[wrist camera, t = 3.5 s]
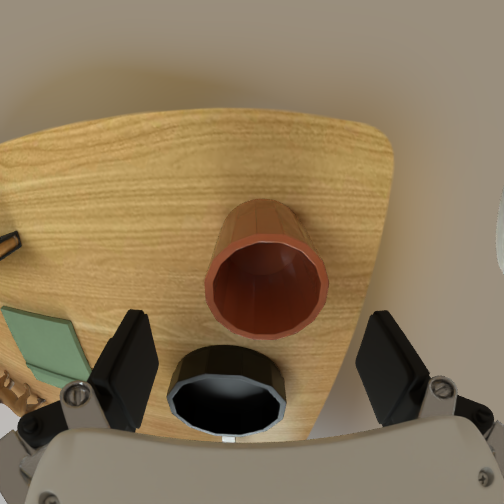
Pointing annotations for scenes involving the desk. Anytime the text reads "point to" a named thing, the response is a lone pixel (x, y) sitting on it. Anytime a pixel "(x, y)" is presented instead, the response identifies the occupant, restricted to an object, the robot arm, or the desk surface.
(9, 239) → the ammunition clip
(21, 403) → the lion figurine
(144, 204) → the desk surface
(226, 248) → the cup
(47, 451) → the robot arm
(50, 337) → the notepad
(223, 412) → the pan
